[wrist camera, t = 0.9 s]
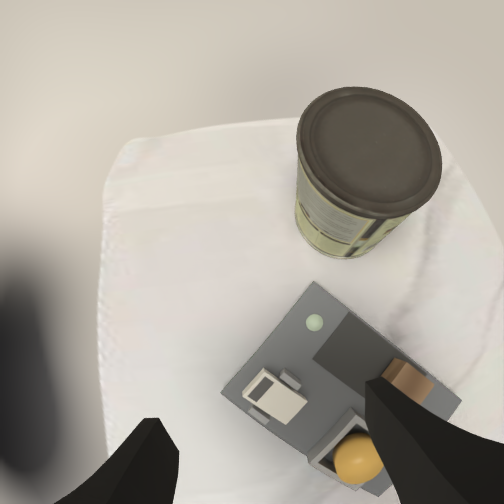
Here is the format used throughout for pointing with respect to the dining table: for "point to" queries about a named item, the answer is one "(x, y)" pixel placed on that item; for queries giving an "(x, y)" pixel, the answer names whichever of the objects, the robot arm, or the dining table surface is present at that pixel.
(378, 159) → the coffee can
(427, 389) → the block
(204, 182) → the dining table surface
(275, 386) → the rocker switch
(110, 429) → the dining table surface
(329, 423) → the panel
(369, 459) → the push button
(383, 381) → the robot arm
